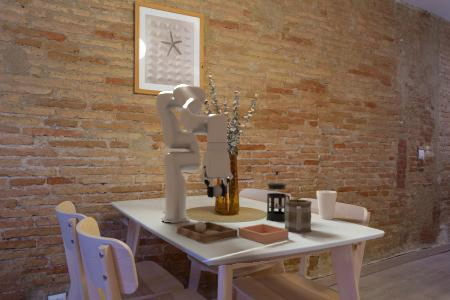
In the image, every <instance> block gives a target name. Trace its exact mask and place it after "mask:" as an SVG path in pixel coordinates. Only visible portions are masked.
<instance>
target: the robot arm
mask: <svg viewBox="0 0 450 300" xmlns="http://www.w3.org/2000/svg"><path fill="white" fill-rule="evenodd" d="M205 102H206V92H205V89H204V88H202V86H201V87H200V86H196V85H188V84H180V85H177V86H176V87H174V88H173V91H161V92H160V93H158V95H157V96H156V99H155V108H156V113H157V115H158V117H159V121H160V124H161V131H162V138H163V143H164V147H165V148H166V149H167V150H170V151H169V152H167V153H166V154H165V155H164V156H163V168H164V177H165V179H164V181H165V183H164V184H165V187H164V194H165V195H164V199H165V201H164V210H163V211H162V213H163V214H164V216H163V217H162V218H161V220H162V221H164V222H163V223H165V222H171V223H170V224H180V223H179V222H184V223H187V222H189V221H190V217H189V216H187V180H186V178H185V177H184V175H183V173H196V172H198V171H200V169H201V174H200V175H199V177H198V179H199V180H200V181H201V182H202V183H204V185H205V186H206V195H207V197H208V198H211V199H212V198H214V196H213V183H214V179H219V181H220V185H219V186H220V187H221V188H222V194H221V195H220V196H219V197H223V198H225V197H226V194H227V193H226V192H227V188H226V187H227V186H228V184H229V182H230V181H231V180H233V179H234V177H235V176H234V175H233V173H232V172H231V158H230V153H229V151H228V149H230V145H229V144H228V117H227V115H225V114H218V113H212V114H207V115H206V114H205V115H204V114H203V115H202V114H199V113H200V112H202V109H203V104H204V103H205ZM173 111H179V112H180V114H179V118H180V119H179V118H178V116H177V115H176V113H174V112H173ZM180 124H181V125H182V127H183V129H182V128H181V125H180ZM197 135H203V136H206V151H204V152H203V158H202V157H201V151H200V147H199V140H198V136H197ZM162 221H161V222H162ZM186 221H187V222H186Z"/></svg>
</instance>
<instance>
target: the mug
mask: <svg viewBox="0 0 450 300" xmlns="http://www.w3.org/2000/svg"><path fill="white" fill-rule="evenodd" d="M311 221H312V201H311V200H308V199H307V200H306V199H299V198H297V199H295V198H294V199H293V198H292V199H291V198H290V199H289V200H288V199H286V200H285V221H284V229H287V230H288V233H293V234H308V233H310V232H312V227H311V226H312V224H311V223H312V222H311Z"/></svg>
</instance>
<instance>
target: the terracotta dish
mask: <svg viewBox="0 0 450 300" xmlns="http://www.w3.org/2000/svg"><path fill="white" fill-rule="evenodd" d="M238 237H241V238H243V239H247V240H251V241H255V242H256V243H257V242H258V243H261V244H264V245H265V244H267V243H268V244H269V243H272V242H277V241H279V240H284V239H289V232H288V230H287V229H285V228H282V227H278V226H275V225H270V224H267V223H259V224H254V225H253V224H252V225H248V226H242V227H238Z"/></svg>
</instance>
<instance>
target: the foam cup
mask: <svg viewBox="0 0 450 300" xmlns="http://www.w3.org/2000/svg"><path fill="white" fill-rule="evenodd" d="M337 198H338V192H337V191H335V190H316V199H317V206H318V207H317V208H318V216H319V219H321V220H329V221H330V220H333V219H334V215H335V210H336V202H337Z"/></svg>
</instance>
